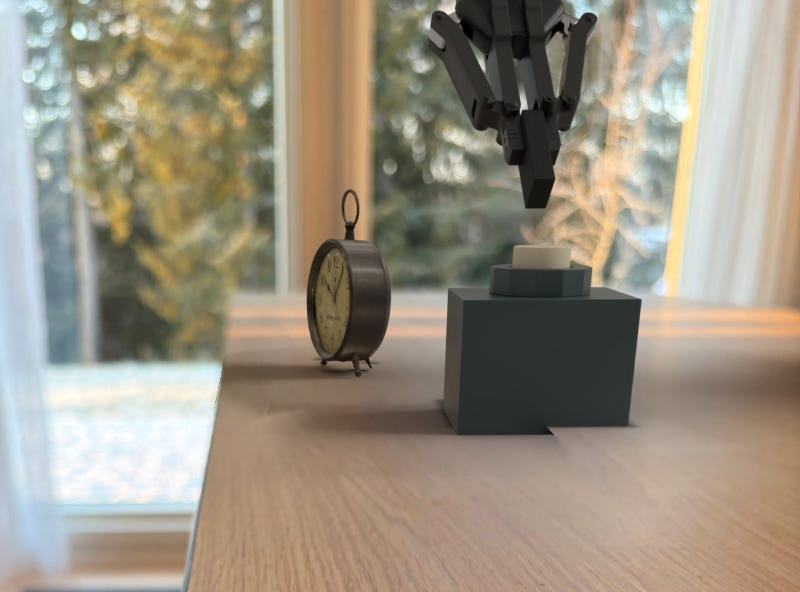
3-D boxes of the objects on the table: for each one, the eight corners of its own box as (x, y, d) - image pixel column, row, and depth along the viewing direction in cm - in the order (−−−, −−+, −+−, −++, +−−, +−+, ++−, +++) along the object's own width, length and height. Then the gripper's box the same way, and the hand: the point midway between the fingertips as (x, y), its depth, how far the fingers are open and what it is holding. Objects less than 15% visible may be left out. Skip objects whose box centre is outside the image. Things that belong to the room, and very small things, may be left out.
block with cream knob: (594, 408, 84) (608, 261, 79) (627, 435, 74) (645, 270, 70) (443, 409, 84) (448, 262, 79) (457, 436, 74) (464, 271, 70)
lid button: (562, 270, 77) (564, 244, 76) (574, 274, 73) (577, 247, 72) (507, 270, 77) (509, 244, 76) (517, 274, 73) (518, 247, 72)
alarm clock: (303, 365, 106) (301, 189, 100) (353, 362, 108) (354, 189, 101) (346, 381, 97) (347, 188, 90) (399, 377, 98) (404, 188, 92)
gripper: (567, 8, 87) (614, 232, 78) (410, 7, 86) (439, 233, 77) (594, -84, 80) (649, 150, 71) (424, -87, 79) (457, 151, 70)
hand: (540, 193), depth 74 cm, fingers closed
